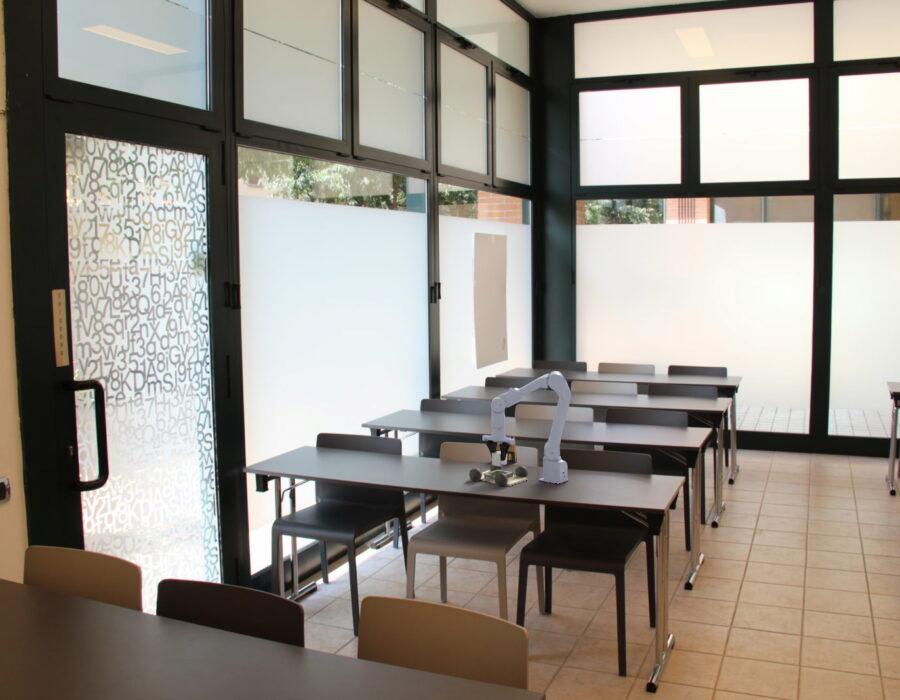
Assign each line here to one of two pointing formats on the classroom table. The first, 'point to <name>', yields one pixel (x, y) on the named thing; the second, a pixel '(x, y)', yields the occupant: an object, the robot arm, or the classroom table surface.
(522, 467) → the chassis
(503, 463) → the engine block
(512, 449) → the ammunition clip
